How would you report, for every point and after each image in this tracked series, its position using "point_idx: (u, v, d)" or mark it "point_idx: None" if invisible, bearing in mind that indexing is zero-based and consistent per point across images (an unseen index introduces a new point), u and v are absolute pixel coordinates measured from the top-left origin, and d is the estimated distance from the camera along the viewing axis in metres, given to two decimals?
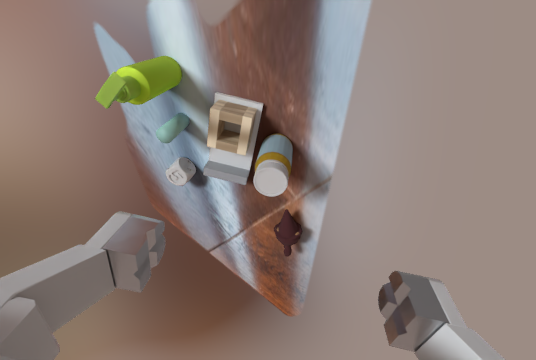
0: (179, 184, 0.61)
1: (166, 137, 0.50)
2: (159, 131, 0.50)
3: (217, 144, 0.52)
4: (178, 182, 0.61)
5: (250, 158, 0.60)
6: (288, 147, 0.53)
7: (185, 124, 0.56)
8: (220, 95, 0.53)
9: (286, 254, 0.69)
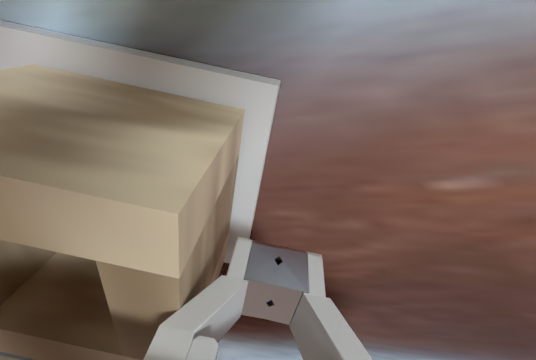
0: None
1: None
2: None
3: None
4: None
5: None
6: None
7: None
8: (266, 115, 0.10)
9: None
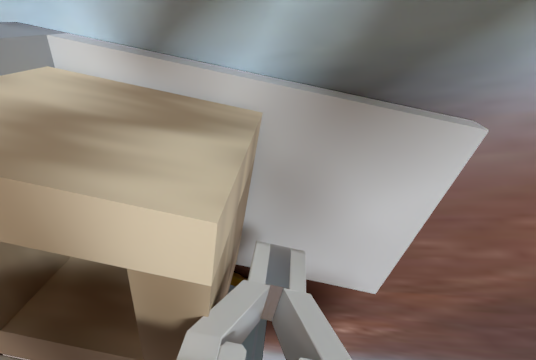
0: None
1: None
2: None
3: None
4: None
5: None
6: None
7: None
8: (463, 156, 0.10)
9: None
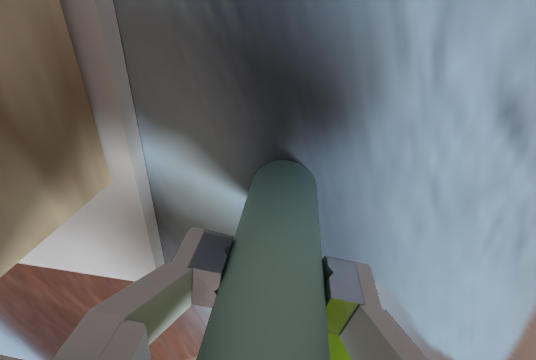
0: None
1: None
2: None
3: None
4: None
5: None
6: None
7: None
8: None
9: None
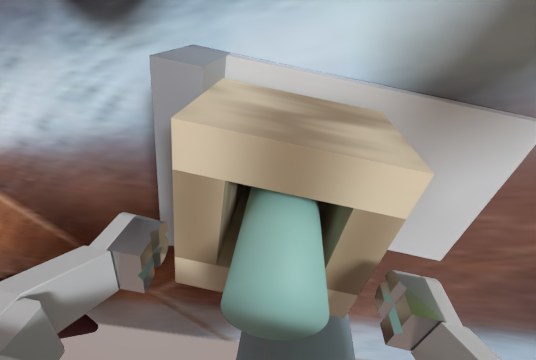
0: None
1: (259, 306, 0.08)
2: (302, 328, 0.08)
3: (200, 182, 0.09)
4: None
5: None
6: None
7: None
8: (529, 145, 0.13)
9: None
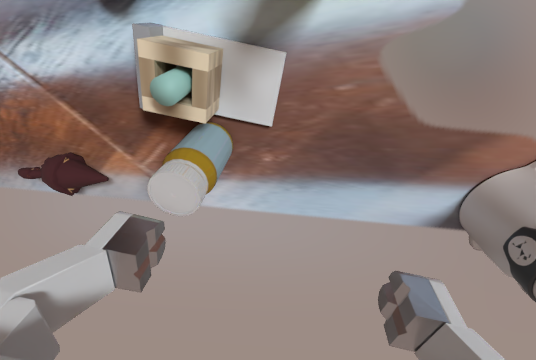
0: None
1: (160, 88, 0.28)
2: (173, 98, 0.28)
3: (147, 61, 0.29)
4: None
5: None
6: None
7: None
8: (282, 62, 0.34)
9: (22, 174, 0.43)
